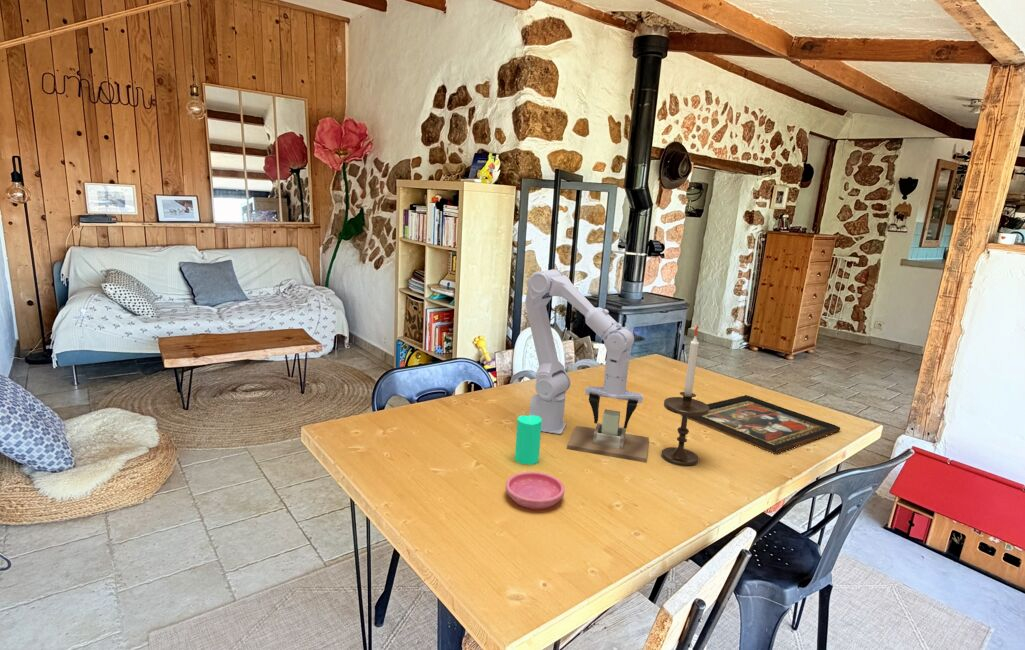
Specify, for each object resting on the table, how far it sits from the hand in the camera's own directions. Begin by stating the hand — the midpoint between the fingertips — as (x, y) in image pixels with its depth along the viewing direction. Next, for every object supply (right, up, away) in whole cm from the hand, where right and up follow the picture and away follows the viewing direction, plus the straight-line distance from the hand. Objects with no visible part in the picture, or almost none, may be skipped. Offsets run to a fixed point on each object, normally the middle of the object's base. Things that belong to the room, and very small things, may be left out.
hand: (610, 424), depth 146 cm
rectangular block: (0, -5, +1) cm, 5 cm away
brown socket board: (0, -6, +1) cm, 6 cm away
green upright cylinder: (-22, -7, -10) cm, 25 cm away
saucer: (-21, -11, -28) cm, 37 cm away
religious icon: (+49, -5, +23) cm, 55 cm away
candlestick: (+17, -8, -4) cm, 19 cm away
